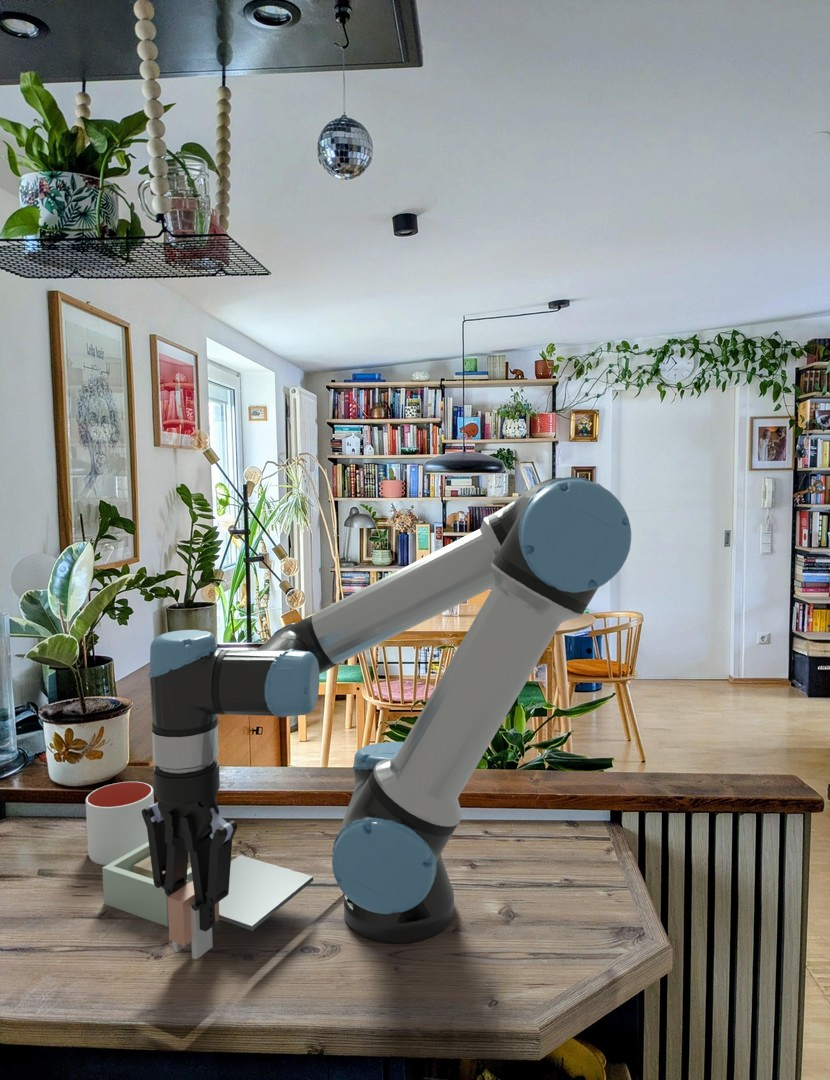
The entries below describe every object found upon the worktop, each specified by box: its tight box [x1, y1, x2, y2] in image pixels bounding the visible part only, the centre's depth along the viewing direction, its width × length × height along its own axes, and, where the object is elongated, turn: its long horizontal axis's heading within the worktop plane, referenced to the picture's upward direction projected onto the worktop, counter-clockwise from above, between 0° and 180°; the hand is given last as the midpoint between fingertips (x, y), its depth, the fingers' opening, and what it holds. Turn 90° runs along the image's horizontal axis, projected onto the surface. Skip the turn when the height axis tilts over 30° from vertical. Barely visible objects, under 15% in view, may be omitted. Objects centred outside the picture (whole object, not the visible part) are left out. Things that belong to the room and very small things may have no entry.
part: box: [133, 856, 153, 879], centre depth 109 cm, size 4×4×4 cm
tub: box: [101, 842, 193, 928], centre depth 108 cm, size 12×12×6 cm
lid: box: [168, 854, 314, 947], centre depth 98 cm, size 13×19×6 cm
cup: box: [85, 781, 155, 866], centre depth 120 cm, size 10×10×10 cm
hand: (192, 948), depth 92 cm, fingers closed on lid, 2 cm apart
